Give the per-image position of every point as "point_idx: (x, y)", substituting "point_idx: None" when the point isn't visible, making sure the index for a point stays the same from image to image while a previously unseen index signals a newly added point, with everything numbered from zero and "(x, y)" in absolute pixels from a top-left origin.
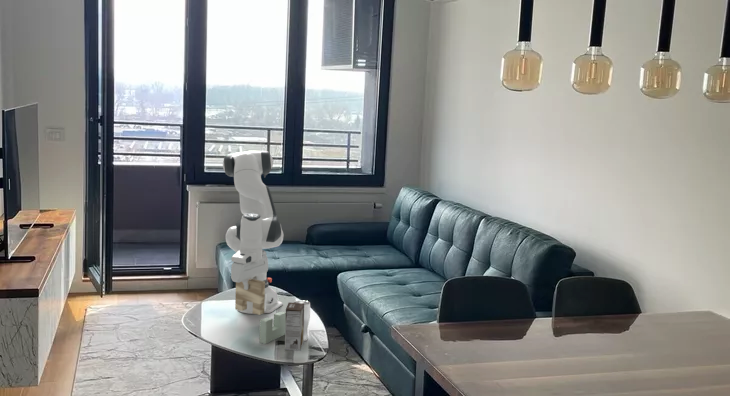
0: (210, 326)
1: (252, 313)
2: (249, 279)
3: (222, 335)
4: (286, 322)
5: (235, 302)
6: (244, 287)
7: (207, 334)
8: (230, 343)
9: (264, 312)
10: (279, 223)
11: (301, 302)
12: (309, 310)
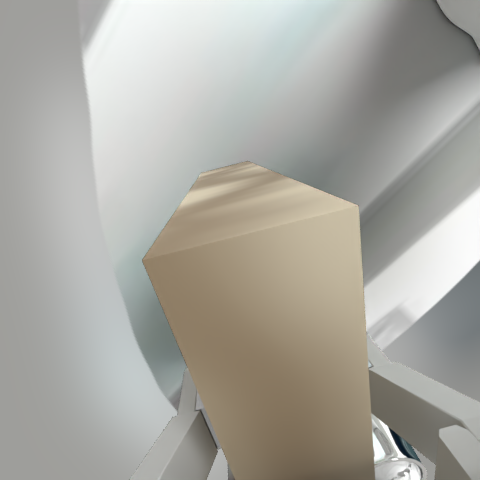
0: (171, 2)
1: (438, 2)
2: (313, 463)
3: (147, 158)
4: (230, 477)
5: (197, 178)
6: (185, 387)
7: (99, 99)
8: (123, 250)
9: (477, 40)
10: None
11: (412, 453)
12: (375, 470)
